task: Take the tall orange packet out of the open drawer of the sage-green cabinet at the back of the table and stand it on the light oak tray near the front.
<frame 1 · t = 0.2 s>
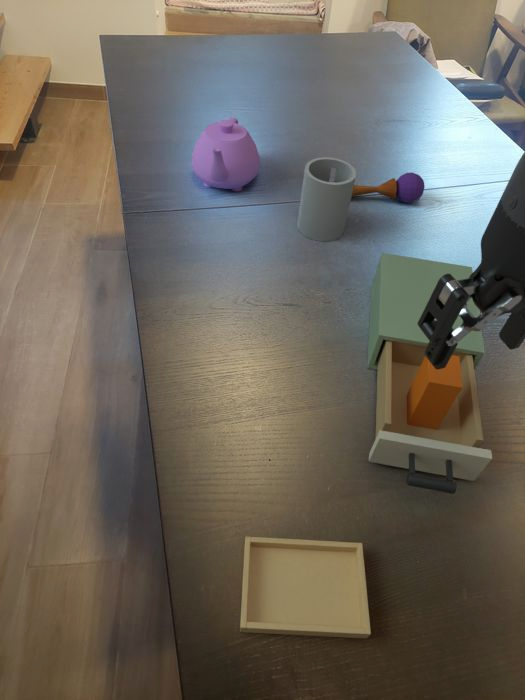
hand: (471, 352, 49), 23 cm above the table, tool pointing down, fingers open, 8 cm apart
cup: (320, 227, 99), on the table
teapot: (224, 181, 108), on the table
packet: (421, 412, 70), point 2 cm above the table, touching drawer
drawer: (425, 415, 67), point 4 cm above the table, slide at 15.0 cm, touching packet
kendama: (372, 200, 107), on the table
tray: (302, 588, 56), on the table
cabinet: (414, 332, 82), on the table
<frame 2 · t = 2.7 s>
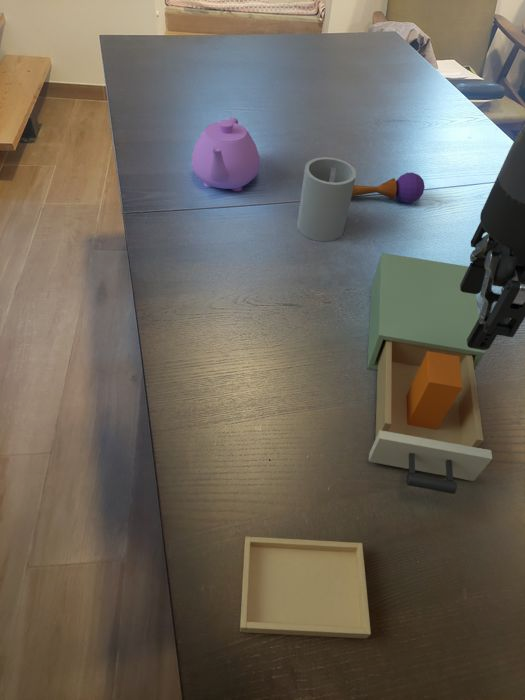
hand: (472, 317, 55), 21 cm above the table, tool pointing down, fingers open, 8 cm apart
nothing on the table moved.
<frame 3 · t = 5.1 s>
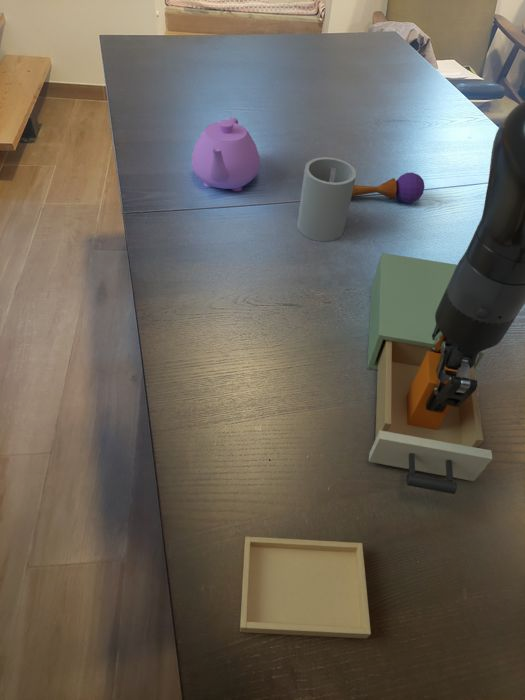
hand: (432, 390, 66), 7 cm above the table, tool pointing down, fingers closed on packet, 5 cm apart
packet: (421, 412, 70), point 2 cm above the table, touching drawer, gripper
everything else where it was.
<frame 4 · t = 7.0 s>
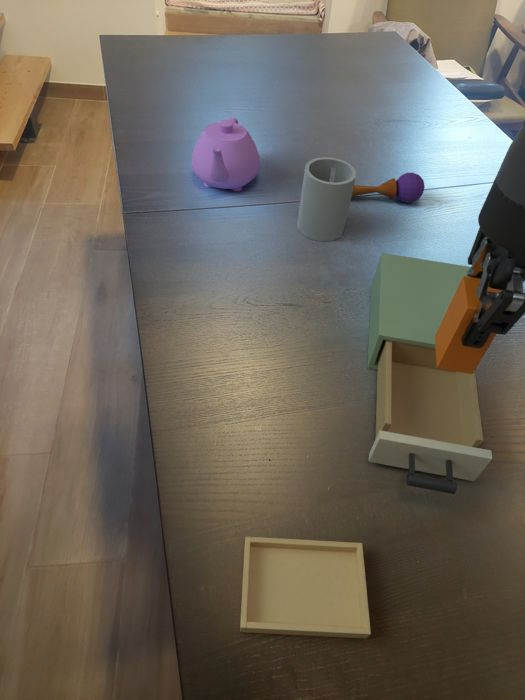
hand: (468, 325, 55), 20 cm above the table, tool pointing down, fingers closed on packet, 5 cm apart
packet: (452, 354, 59), point 15 cm above the table, touching gripper
drawer: (426, 416, 67), point 4 cm above the table, slide at 15.0 cm
everything else where it was.
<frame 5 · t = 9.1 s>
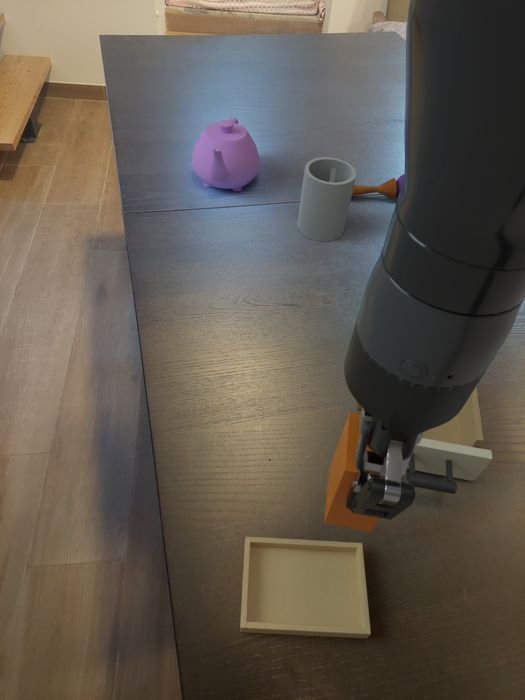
hand: (361, 473, 41), 22 cm above the table, tool pointing down, fingers closed on packet, 5 cm apart
packet: (349, 500, 44), point 17 cm above the table, touching gripper
everything else where it was.
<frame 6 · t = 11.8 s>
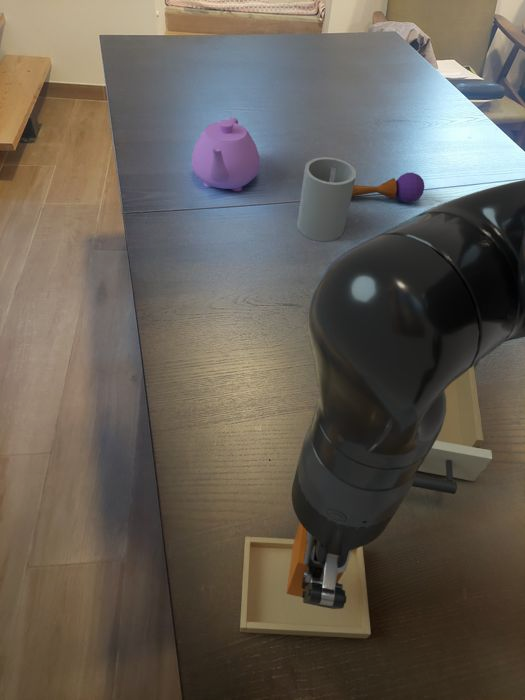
hand: (316, 555, 48), 10 cm above the table, tool pointing down, fingers closed on packet, 5 cm apart
packet: (309, 572, 52), point 5 cm above the table, touching gripper
everything else where it was.
when the fingers open (5 cm above the table, at t = 13.5 s): packet stays where it is, resting on tray.
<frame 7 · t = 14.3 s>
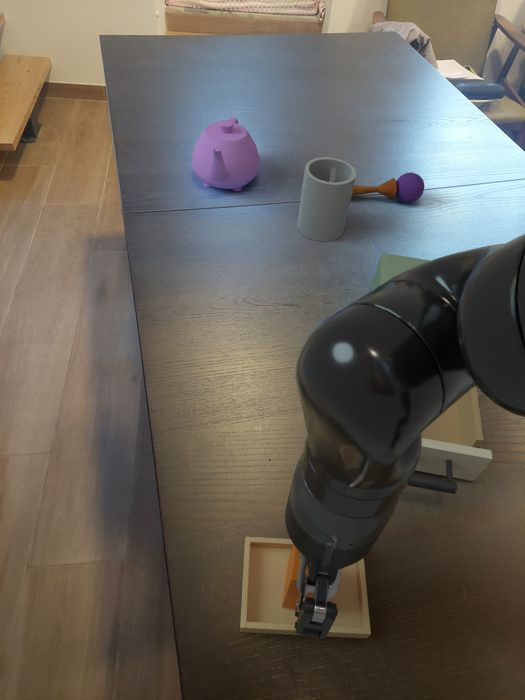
hand: (311, 568, 50), 7 cm above the table, tool pointing down, fingers open, 8 cm apart
packet: (303, 586, 55), resting on tray
everything else where it was.
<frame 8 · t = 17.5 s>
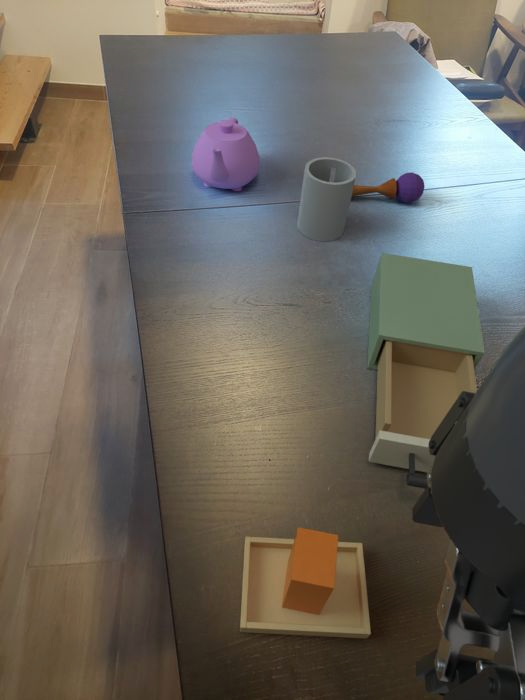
hand: (430, 589, 29), 28 cm above the table, tool pointing down, fingers open, 8 cm apart
nothing on the table moved.
at the end: packet inside the target area in the tray (0.0 cm from its centre), point 0.5 cm above the tray's base; packet touching tray; the gripper is holding nothing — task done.
